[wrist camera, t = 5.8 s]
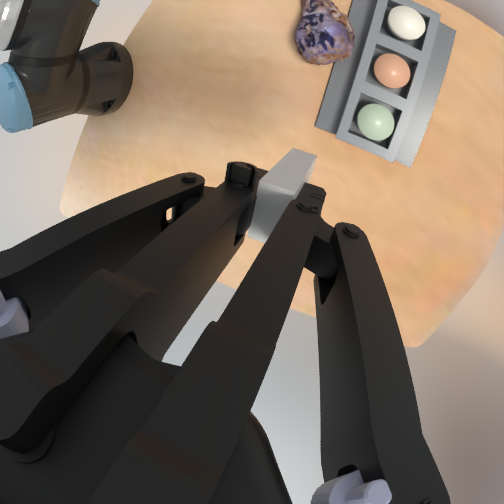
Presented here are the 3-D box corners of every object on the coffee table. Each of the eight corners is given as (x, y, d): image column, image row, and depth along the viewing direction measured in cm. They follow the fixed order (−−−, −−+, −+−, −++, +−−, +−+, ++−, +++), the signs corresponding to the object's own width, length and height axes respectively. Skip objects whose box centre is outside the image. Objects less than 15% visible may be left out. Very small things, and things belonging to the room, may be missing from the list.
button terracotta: (369, 80, 28) (369, 79, 26) (378, 51, 25) (379, 47, 23) (401, 94, 27) (404, 94, 25) (410, 65, 24) (414, 63, 23)
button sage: (352, 129, 31) (352, 131, 29) (363, 97, 28) (364, 97, 26) (385, 143, 30) (386, 146, 28) (396, 112, 28) (399, 113, 26)
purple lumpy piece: (295, -6, 25) (278, -21, 20) (351, -8, 22) (343, -26, 17) (300, 68, 31) (285, 62, 26) (358, 70, 28) (353, 62, 23)
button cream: (383, 32, 23) (385, 28, 21) (390, 5, 20) (392, 0, 18) (417, 47, 22) (421, 44, 20) (424, 20, 19) (428, 15, 17)
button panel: (315, 126, 35) (311, 129, 32) (356, -11, 22) (355, -20, 19) (409, 166, 33) (414, 173, 30) (454, 31, 20) (462, 26, 17)
